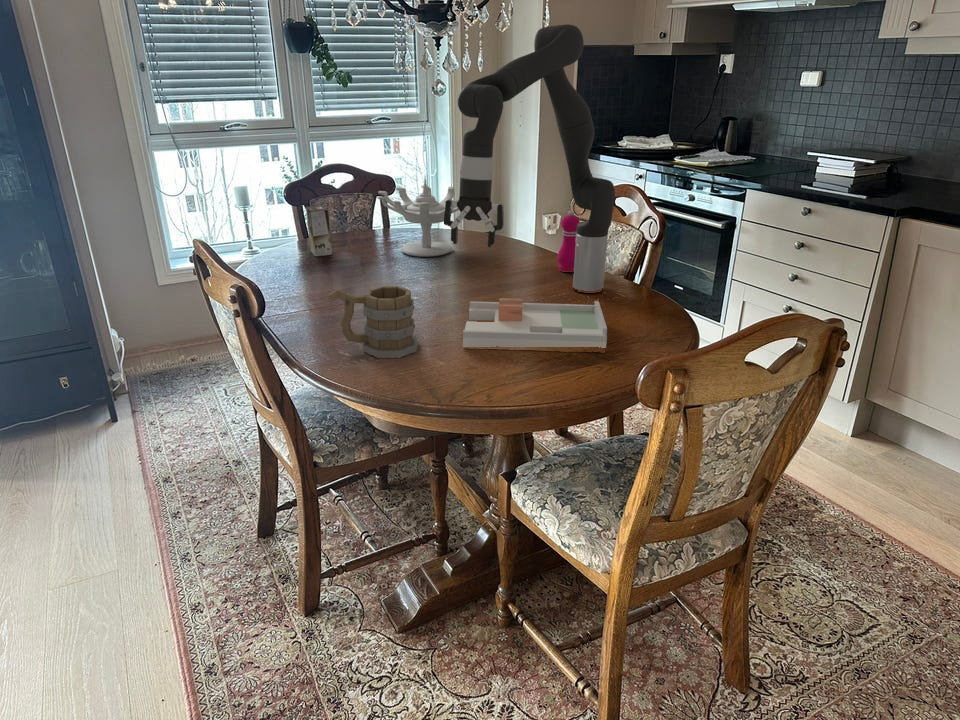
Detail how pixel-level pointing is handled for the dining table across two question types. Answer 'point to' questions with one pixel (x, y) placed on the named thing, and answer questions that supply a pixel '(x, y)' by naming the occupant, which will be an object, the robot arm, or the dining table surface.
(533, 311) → the box
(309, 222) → the coffee box
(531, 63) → the robot arm
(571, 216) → the pepper mill
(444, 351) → the dining table surface
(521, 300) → the block
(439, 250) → the candelabra
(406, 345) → the tankard
